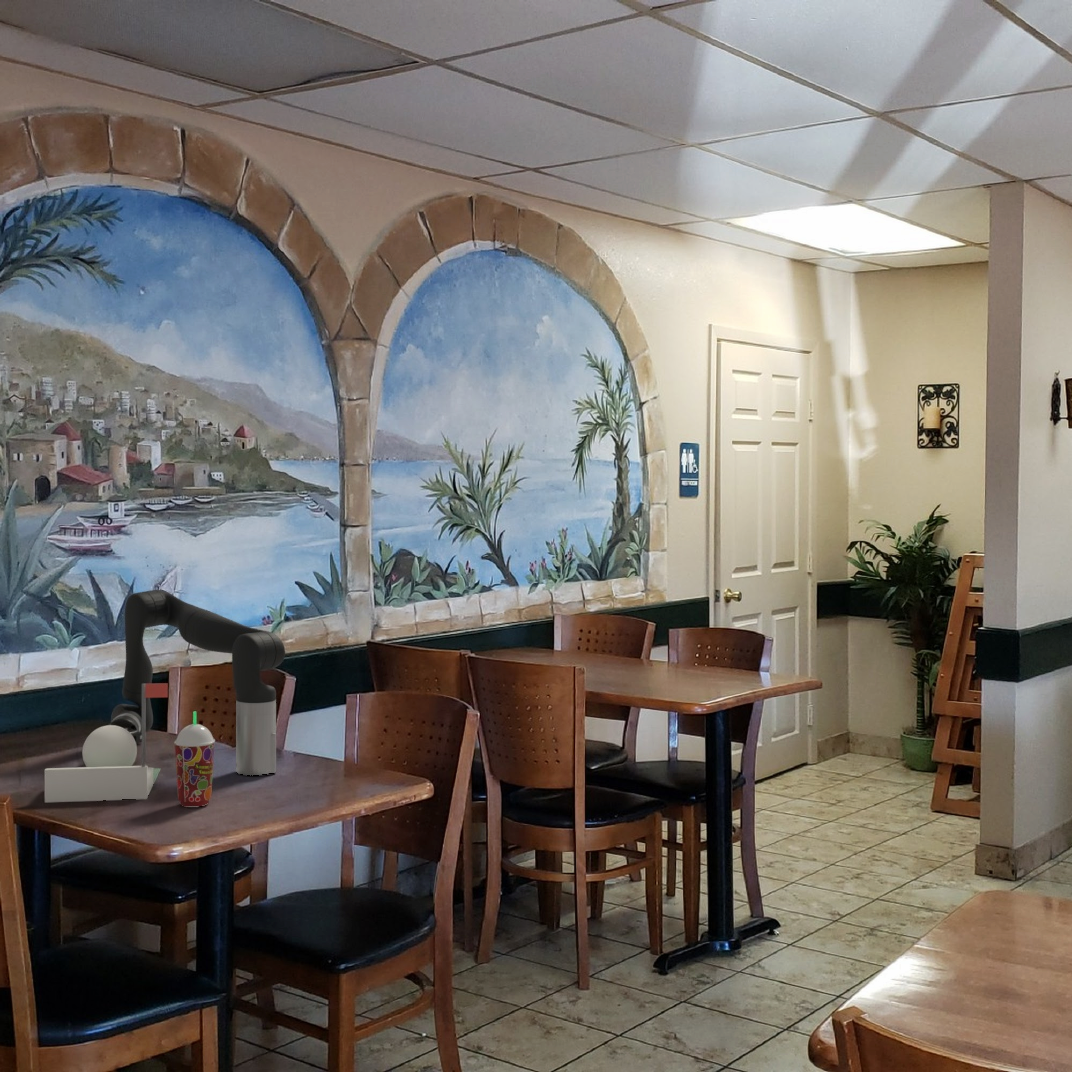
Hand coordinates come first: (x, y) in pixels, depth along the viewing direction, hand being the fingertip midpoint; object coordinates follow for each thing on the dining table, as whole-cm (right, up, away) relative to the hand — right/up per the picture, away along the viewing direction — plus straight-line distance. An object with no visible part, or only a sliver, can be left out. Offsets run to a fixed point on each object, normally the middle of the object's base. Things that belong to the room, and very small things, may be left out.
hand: (114, 743), depth 306 cm
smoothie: (+27, -8, -31) cm, 42 cm away
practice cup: (+5, -7, -14) cm, 16 cm away
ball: (+1, 0, -8) cm, 8 cm away
